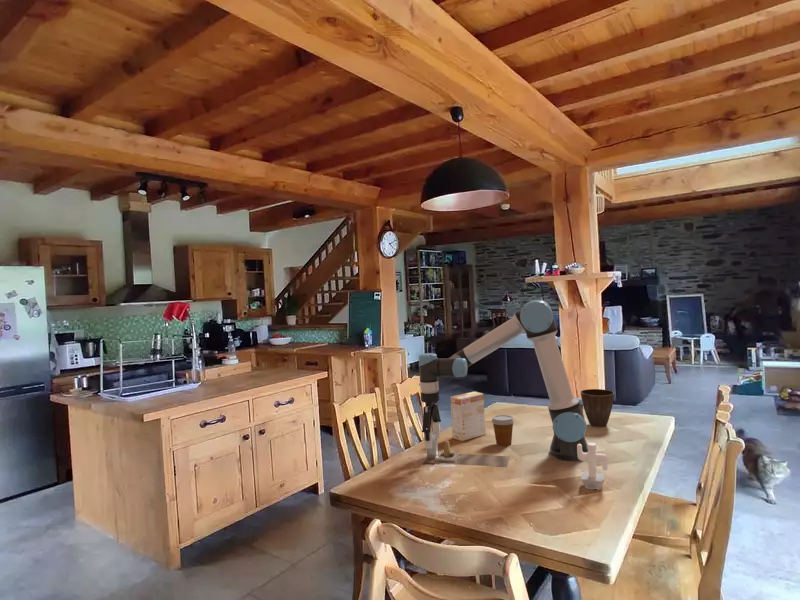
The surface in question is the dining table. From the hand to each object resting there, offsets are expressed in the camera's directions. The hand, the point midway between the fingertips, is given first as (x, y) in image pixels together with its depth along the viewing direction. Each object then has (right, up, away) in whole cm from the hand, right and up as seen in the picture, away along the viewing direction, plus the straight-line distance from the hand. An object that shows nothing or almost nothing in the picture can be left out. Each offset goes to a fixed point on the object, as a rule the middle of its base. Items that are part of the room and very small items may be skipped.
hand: (432, 443), depth 205 cm
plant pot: (+82, -2, +35) cm, 89 cm away
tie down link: (+4, -6, -1) cm, 7 cm away
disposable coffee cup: (+32, -5, +13) cm, 35 cm away
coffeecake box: (+19, -5, +28) cm, 34 cm away
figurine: (+52, -5, -35) cm, 63 cm away
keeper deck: (+13, -6, -4) cm, 15 cm away
